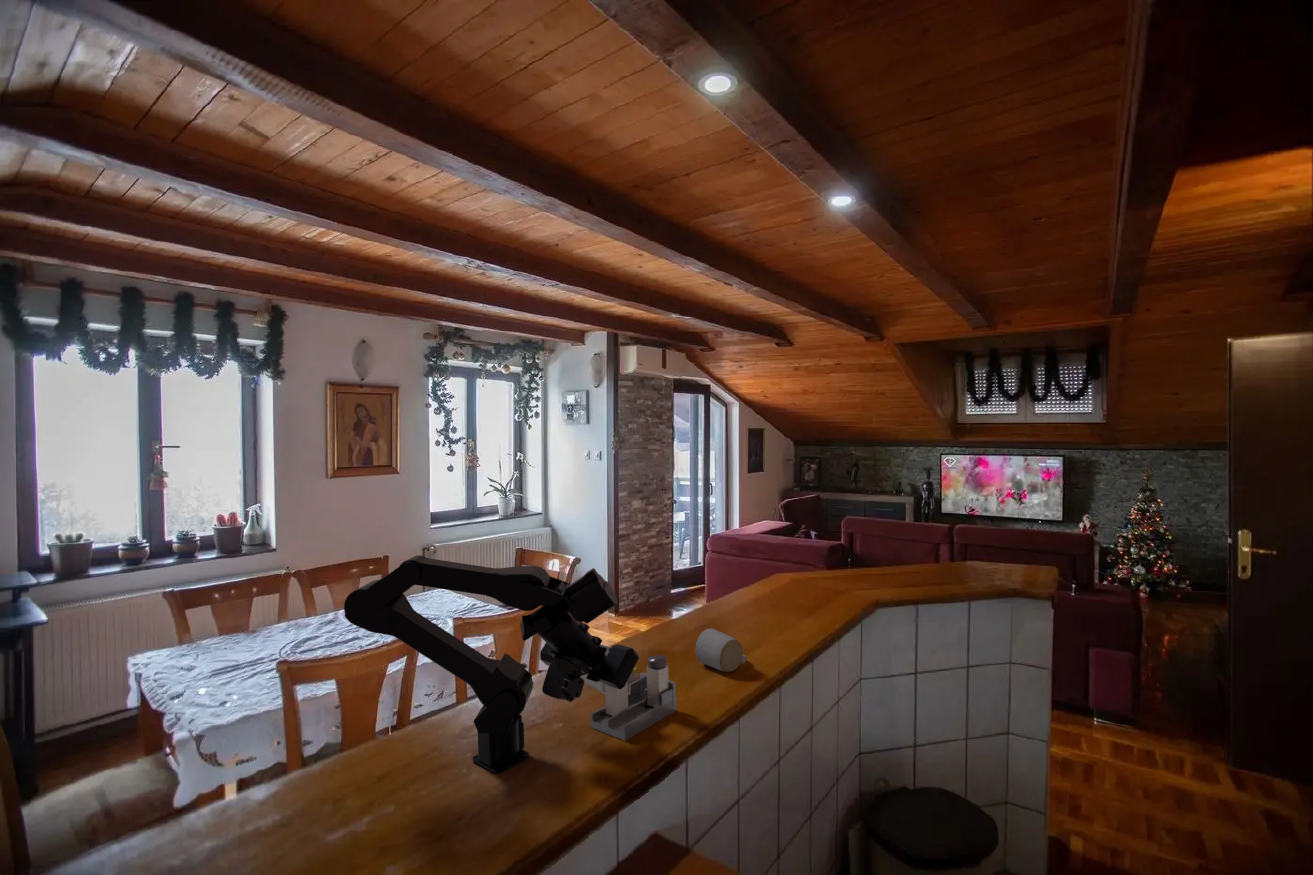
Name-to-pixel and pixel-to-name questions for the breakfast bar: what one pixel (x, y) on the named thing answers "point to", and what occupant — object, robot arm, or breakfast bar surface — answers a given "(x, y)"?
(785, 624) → the breakfast bar surface
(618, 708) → the plunger
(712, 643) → the ceramic mug
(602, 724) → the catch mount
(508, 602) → the robot arm
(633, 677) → the emergency button
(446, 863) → the breakfast bar surface
